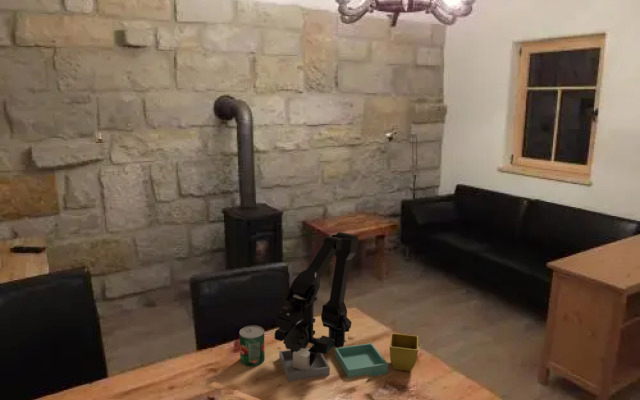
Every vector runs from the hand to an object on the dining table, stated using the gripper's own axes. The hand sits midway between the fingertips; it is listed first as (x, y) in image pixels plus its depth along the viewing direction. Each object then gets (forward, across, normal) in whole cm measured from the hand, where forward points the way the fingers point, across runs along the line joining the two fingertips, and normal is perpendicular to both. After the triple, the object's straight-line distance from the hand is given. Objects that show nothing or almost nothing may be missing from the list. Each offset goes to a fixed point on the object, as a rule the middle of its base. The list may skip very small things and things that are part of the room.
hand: (303, 363), depth 148 cm
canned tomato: (+2, -16, -5) cm, 17 cm away
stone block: (+1, 0, 0) cm, 1 cm away
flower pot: (+2, +27, +17) cm, 32 cm away
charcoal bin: (+2, 0, 0) cm, 2 cm away
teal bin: (+2, +15, +11) cm, 18 cm away
